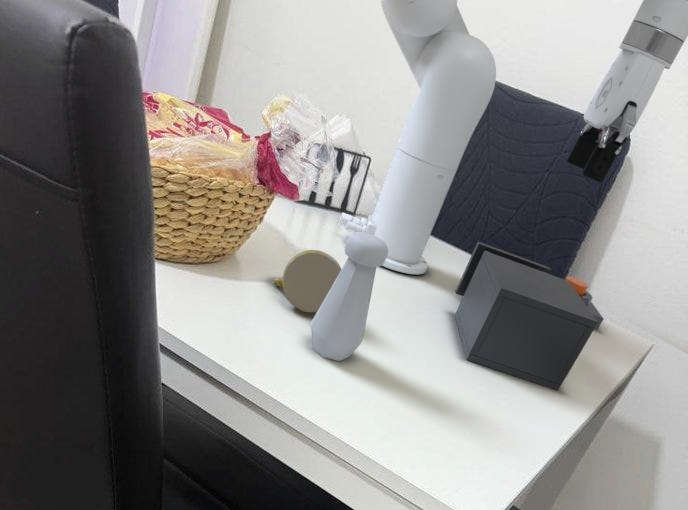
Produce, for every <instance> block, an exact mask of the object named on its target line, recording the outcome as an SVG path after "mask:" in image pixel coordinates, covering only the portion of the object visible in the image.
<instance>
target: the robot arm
mask: <svg viewBox="0 0 688 510" xmlns="http://www.w3.org/2000/svg"><path fill="white" fill-rule="evenodd" d="M380 5H381V9H382V12H383V15H384V17H385V20H386V22H387V24H388V26H389V29H390V30H391V33H392V35H393V37H394V39H395V40H396V43H397V44H398V46H399V49H400V51H401V53H402V55H403V58H404V59H405V62H406V63H407V65H408V67H409V70H410V71H411V73H412V75H413V77H414V79H415V81H416V83H417V85H418V87H419V90H418V93H417V96H416V97H415V100H414V102H413V104H412V106H411V108H410V110H409V113H408V115H407V118H406V121H405V123H404V126H403V128H402V131H401V133H400V137H399V139H398V142H397V145H396V149H395V151H394V154H393V157H392V159H391V163H390V166H389V168H388V171H387V173H386V177H385V179H384V182H383V185H382V188H381V190H380V193H379V196H378V199H377V202H376V204H375V207H374V210H373V213H372V214H368V216H367V218H365V217H361V218H357V217H354V216H353V215H351V214H348V213H345V212H341V214H340V218H339V221H338V226H341V227H344V228H345V231H349V232H351V233H355V232H365V233H369V234H372V235H374V236H376V237H378V238H380V239H381V240H383V241H384V242H385V243H386V245H387V248H388V254H387V258H386V260H385V262H384V263H383V265H382V266H381V267H384V268H387V269H390V270H392V271H395V272H399V273H402V274H407V275H423V274H424V273H426V272H427V270H428V266H429V263H428V261H427V260H426V258H424V257H423V254H424V251H425V248H426V246H427V244H428V242H429V239H430V237H431V235H432V231H433V229H434V227H435V225H436V222H437V220H438V217H439V214H440V212H441V210H442V207H443V206H444V202H445V200H446V197H447V195H448V193H449V191H450V187H451V185H452V183H453V181H454V179H455V176H456V173H457V171H458V168H459V166H460V163H461V161H462V158H463V156H464V153H465V151H466V149H467V147H468V145H469V142H470V141H471V138H472V136H473V134H474V131H475V129H476V128H477V126H478V124H479V122H480V120H481V118H482V116H483V115H484V113H485V111H486V109H487V107H488V105H489V103H490V101H491V99H492V96H493V93H494V90H495V87H496V82H497V81H496V80H497V68H496V67H497V66H496V61H495V57H494V55H493V53H492V51H491V49H490V48H489V47H488V45H486V43H485V42H484V41H482V40H481V39H479V38H478V37H476V36H474V35H471V34H470V32H469V30H468V28H467V25H466V23H465V21H464V18H463V16H462V13H461V11H460V9H459V6H458V0H380ZM687 38H688V0H642V2H641V4H640V6H639V8H638V10H637V11H636V14H635V16H634V18H633V19H632V22H631V24H630V26H629V28H628V29H627V31H626V34H625V35H624V37H623V39H622V41H621V44H620V45H619V47H618V48H619V49H620V52H619V53H618V55H617V57H616V58H615V59H614V61H613V63H612V64H611V65H610V67H609V69H608V71H607V72H606V74H605V76H604V78H603V79H602V81H601V83H600V85H599V87H598V88H597V90H596V91H595V94H594V96H593V97H592V99H591V100H590V103H589V104H588V106H587V108H586V110H585V112H584V114H583V121H584V123H585V125H584V126H583V128H582V130H581V131H580V134H579V135H578V137H577V139H576V141H575V143H574V145H573V147H572V149H571V151H570V153H569V155H568V157H567V158H566V160H567V161H566V162H567V163H568V164H571V165H573V166H575V167H578V168H580V169H582V172H581V173H582V175H583V176H584V177H586V178H588V179H591V180H593V181H596V182H598V183H603V181H604V180H605V178H606V176H607V174H608V172H609V171H610V168H611V167H612V165H613V163H614V162H615V160H616V158H617V156H618V155H619V153H620V152H621V150H622V147H623V145H624V144H625V143H626V142H627V140H628V137H629V136H630V135H631V133H632V131H633V130H634V129H635V127H636V126H637V124H638V122H639V120H640V118H641V117H642V115H643V113H644V111H645V109H646V107H647V106H648V104H649V102H650V99H651V97H652V96H653V93H654V92H655V89H656V87H657V85H658V83H659V81H660V79H661V76H662V75H663V72H664V70H665V69H666V70H670V69H671V67H672V65H673V63H674V61H675V60H676V58H677V56H678V54H679V53H680V51H681V49H682V47H683V45H684V43H685V41H687ZM599 140H600V143H599V142H598V141H599Z"/></svg>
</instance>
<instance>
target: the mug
mask: <svg viewBox="0 0 688 510" xmlns="http://www.w3.org/2000/svg"><path fill="white" fill-rule="evenodd" d="M341 270H342V267H341V265H340V263H339V262H338V261H337V259H335V258H334V257H333V256H331V254H329V253H326V252H325V251H322V250H318V249H308V250H304V251H300V252H299V253H297V254H295V255H294V256H293V257H292V258H291V259H290V260H289V261H288V262H287V264H286V266H285V267H284V270H283V274H282V276H280V277H276V278H274V279H273V283H274V285H275V286H276V287H282V289H283V292H284V294H285V297H286V299H287V300H288V301H289V303H291V305H292V306H294V307H295V308H297V309H298V310H299V311H302V312H305V313H309V314H310V313H312V314H313V313H314V314H316V313H317V311H318V309H319V308H320V306H321V304H322V303H323V301H324V299H325V297H326V296H327V294H328V292H329V290H330V289H331V287H332V285H333V283H334V282H335V280H336V278H337V277H338V275H339V273H340V271H341Z"/></svg>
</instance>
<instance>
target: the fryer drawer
mask: <svg viewBox="0 0 688 510" xmlns="http://www.w3.org/2000/svg"><path fill="white" fill-rule="evenodd" d="M484 251H487V252H490V253H492V254H495V255H498V256H501V257H503V258H506V259H509V260H512V261H514V262H517V263H520V264H523V265H525V266H528V267H531V268H534V269H537V270H539V271H542V272H545V273H548V274H550V273H551V271H552V268H551V267H550V266H547V265H544V264H541V263H539V262H537V261H536V262H535V261H533V260H530V259H527V258H525V257H522V256H520V255H516V254H514V253H511V252H508V251H506V250H503V249H499V248H497V247H495V246H491V245H489V244H487V243H483V242H481V241H477V242H476V244H475V246H474V249H473V251H472V253H471V255H470V258H469V260H468V262H467V264H466V266H465V268H464V270H463V273H462V275H461V278H460V280H459V282H458V284H457V286H456V289H455V294H456V295H458V296H461V297H463V296H464V294H465V292H466V290H467V288H468V285H469V283H470V281H471V279H472V277H473V275H474V272H475V270H476V268H477V266H478V264H479V262H480V259H481V257H482V255H483V253H484Z"/></svg>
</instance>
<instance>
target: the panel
mask: <svg viewBox="0 0 688 510" xmlns="http://www.w3.org/2000/svg"><path fill="white" fill-rule="evenodd" d="M578 295H579V294H578ZM579 296H580V297H581V299H582V300H583V302H584V303H585V304H586V306H587V307H588V309H589V310H590V312H591V313H592V314H593V316H594V317H595V319H596V320H597V322H598V323H597V325H596V327H595V328H594V331H598V330H599V328H600V326H601V325H602V323H603V321H604V317H603V316H602V314H601V313H600V312H599V310H598V309H597V308H596V306H595V305H594V303H593V302H592V300H593V296H592V294H591V293H589V292H588V291H587V290H586V292H585V294H584V296H583V295H579Z"/></svg>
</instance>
